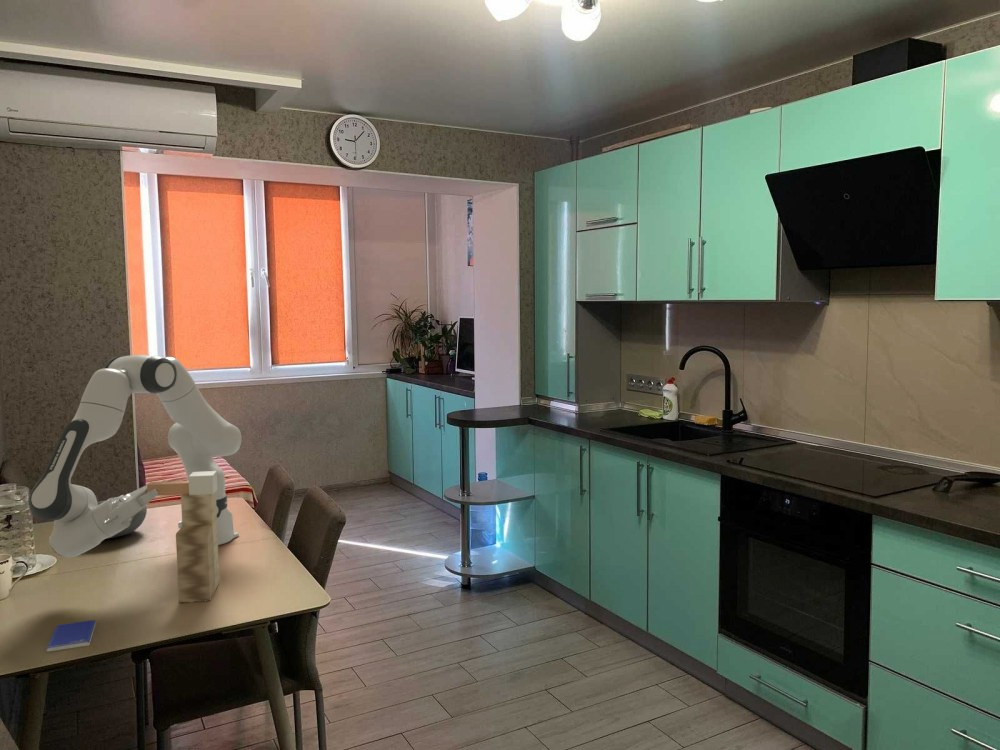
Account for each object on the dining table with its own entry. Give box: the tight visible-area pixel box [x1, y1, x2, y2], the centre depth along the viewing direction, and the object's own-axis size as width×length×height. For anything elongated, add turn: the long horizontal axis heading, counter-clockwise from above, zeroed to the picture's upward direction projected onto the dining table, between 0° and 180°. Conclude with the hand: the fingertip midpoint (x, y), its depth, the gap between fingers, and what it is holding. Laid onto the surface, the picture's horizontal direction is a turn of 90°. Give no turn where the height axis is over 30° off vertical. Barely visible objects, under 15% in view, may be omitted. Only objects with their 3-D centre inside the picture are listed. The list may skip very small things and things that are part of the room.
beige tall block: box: [175, 492, 220, 604], centre depth 195 cm, size 8×13×26 cm, turn 11°
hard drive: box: [46, 619, 97, 652], centre depth 170 cm, size 2×8×12 cm
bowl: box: [98, 500, 148, 539], centre depth 246 cm, size 23×22×10 cm
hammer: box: [146, 471, 217, 497], centre depth 196 cm, size 16×6×5 cm, turn 101°
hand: (161, 487), depth 196 cm, fingers open, 8 cm apart
